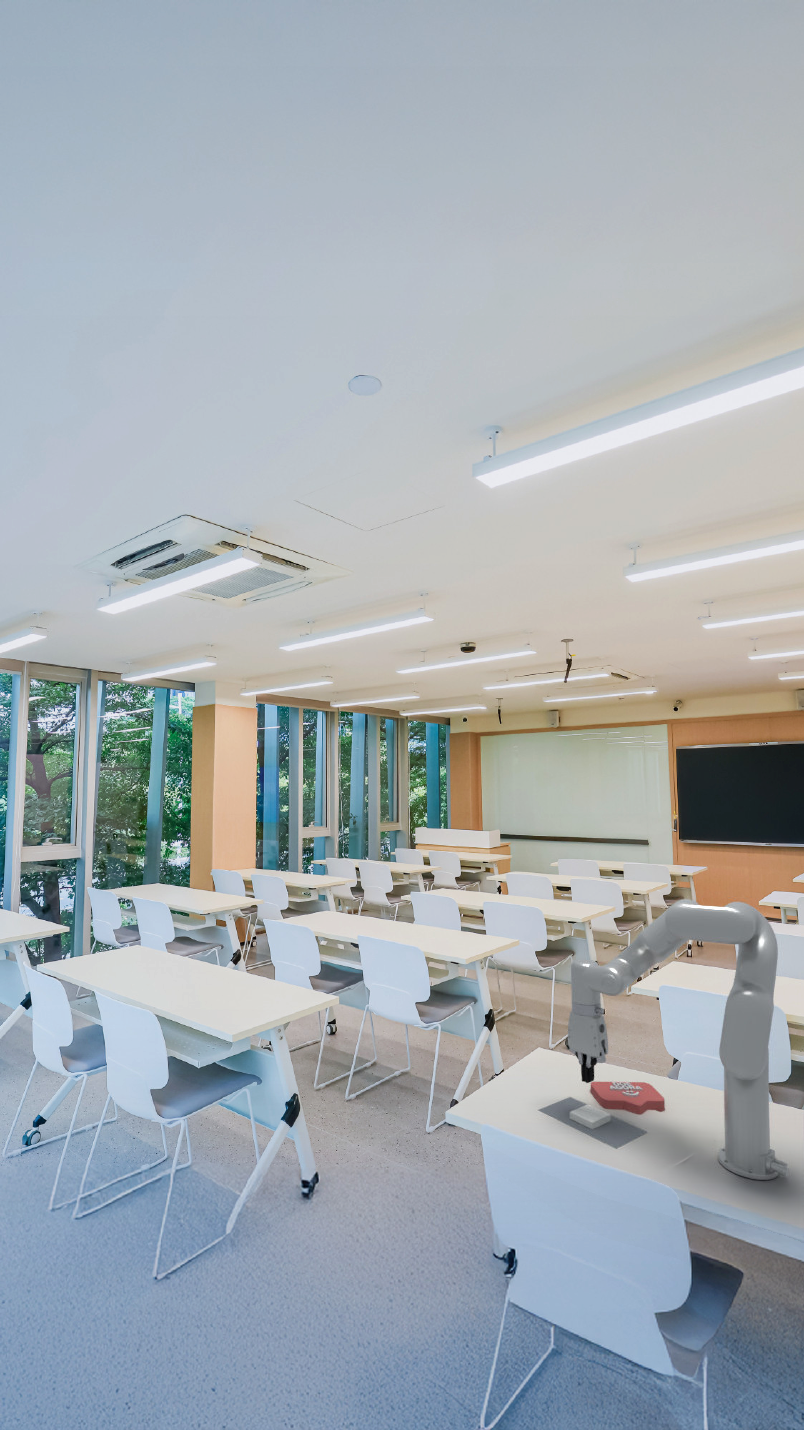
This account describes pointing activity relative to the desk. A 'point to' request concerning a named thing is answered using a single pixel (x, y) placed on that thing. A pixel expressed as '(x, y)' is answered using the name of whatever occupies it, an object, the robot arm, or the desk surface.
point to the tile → (590, 1116)
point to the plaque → (628, 1096)
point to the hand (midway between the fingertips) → (587, 1080)
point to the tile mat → (608, 1133)
